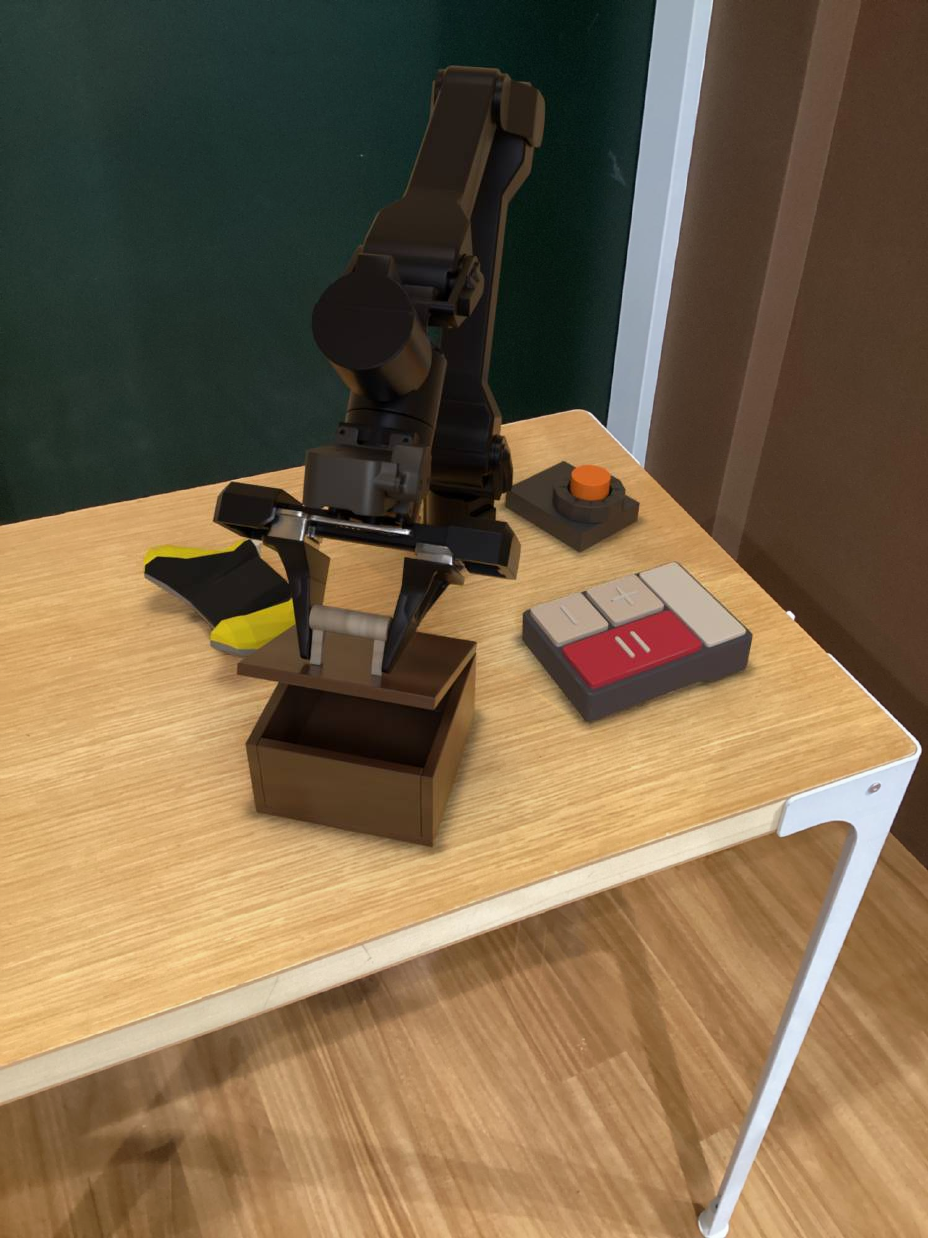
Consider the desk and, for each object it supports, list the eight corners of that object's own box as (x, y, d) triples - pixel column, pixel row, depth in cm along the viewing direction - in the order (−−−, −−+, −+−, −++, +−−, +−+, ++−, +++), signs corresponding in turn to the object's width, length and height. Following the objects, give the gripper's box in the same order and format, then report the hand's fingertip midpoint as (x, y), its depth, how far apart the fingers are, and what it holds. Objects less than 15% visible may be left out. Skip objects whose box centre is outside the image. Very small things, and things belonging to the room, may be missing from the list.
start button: (561, 489, 99) (563, 473, 98) (588, 476, 101) (590, 460, 100) (590, 506, 97) (592, 489, 96) (616, 492, 99) (618, 475, 98)
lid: (433, 710, 64) (442, 636, 63) (236, 675, 66) (240, 603, 65) (476, 652, 77) (483, 589, 75) (309, 624, 79) (314, 563, 77)
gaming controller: (230, 695, 83) (337, 642, 88) (221, 641, 79) (333, 589, 84) (141, 600, 91) (243, 557, 96) (129, 548, 88) (236, 506, 93)
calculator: (520, 604, 86) (677, 552, 91) (520, 643, 89) (672, 591, 93) (589, 689, 78) (757, 628, 83) (587, 729, 81) (749, 668, 86)
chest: (432, 847, 72) (432, 779, 67) (255, 812, 74) (244, 743, 69) (474, 719, 81) (476, 651, 77) (316, 690, 83) (310, 623, 79)
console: (504, 507, 104) (506, 471, 101) (562, 479, 108) (565, 444, 105) (581, 554, 98) (585, 518, 95) (639, 522, 102) (644, 487, 99)
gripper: (203, 362, 61) (149, 628, 60) (522, 403, 58) (472, 685, 57) (267, 419, 72) (223, 645, 71) (538, 456, 69) (497, 694, 68)
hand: (344, 666), depth 66 cm, fingers closed on lid, 5 cm apart
